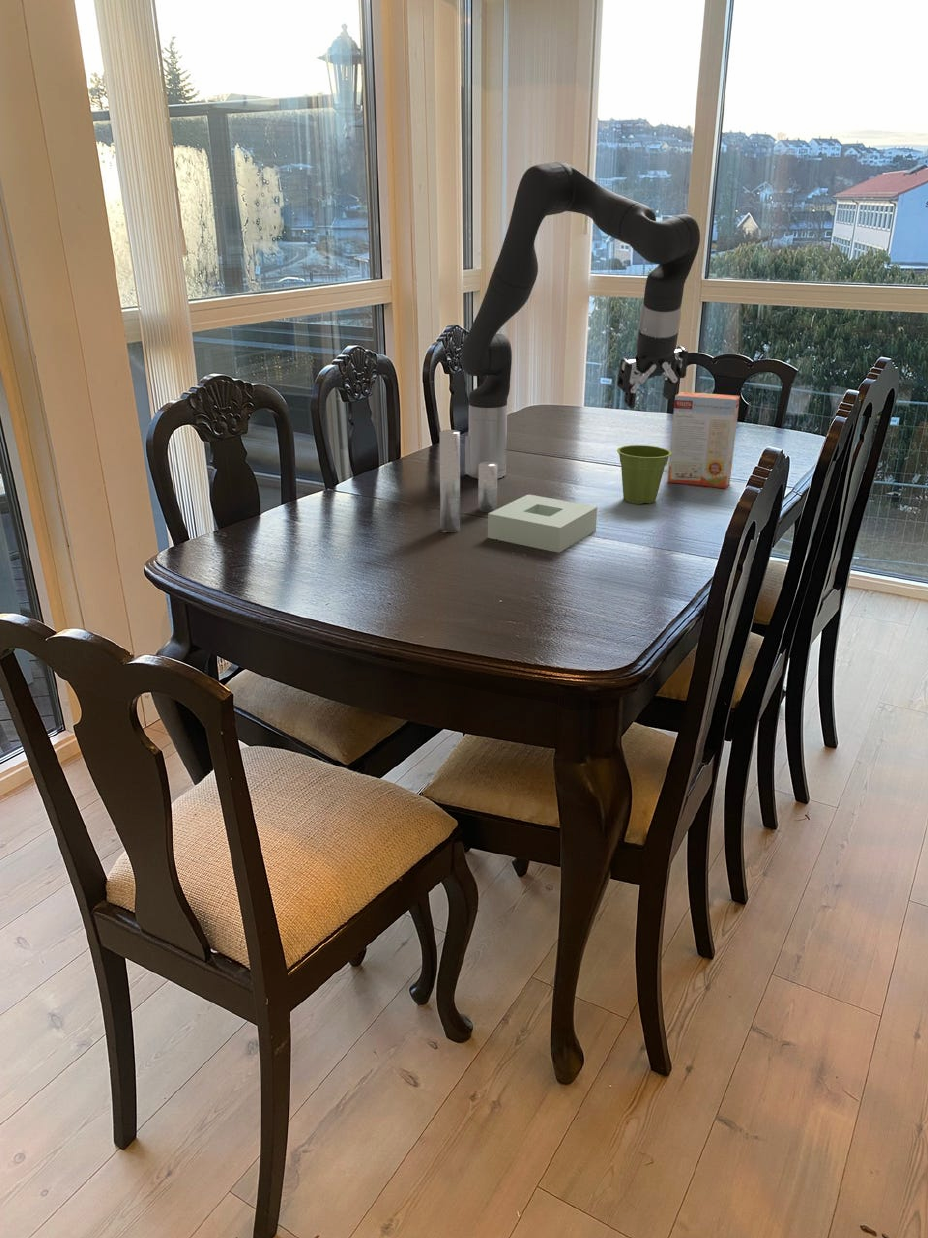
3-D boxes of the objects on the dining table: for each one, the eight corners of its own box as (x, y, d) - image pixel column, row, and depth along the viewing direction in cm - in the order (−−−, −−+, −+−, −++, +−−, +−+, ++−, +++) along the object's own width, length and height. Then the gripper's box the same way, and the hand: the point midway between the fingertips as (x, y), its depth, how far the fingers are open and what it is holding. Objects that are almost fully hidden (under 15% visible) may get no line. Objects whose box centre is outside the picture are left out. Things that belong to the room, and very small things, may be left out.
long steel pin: (436, 530, 184) (435, 432, 176) (447, 525, 187) (447, 428, 179) (453, 534, 182) (452, 435, 174) (463, 528, 185) (464, 431, 177)
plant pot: (666, 509, 197) (671, 458, 193) (612, 506, 200) (615, 455, 195) (666, 494, 208) (671, 445, 203) (614, 491, 210) (618, 443, 206)
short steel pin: (474, 510, 197) (475, 464, 193) (484, 505, 200) (485, 461, 196) (490, 513, 195) (491, 467, 191) (500, 508, 198) (500, 463, 194)
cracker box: (730, 483, 217) (741, 394, 208) (725, 489, 212) (736, 399, 203) (672, 476, 222) (680, 390, 213) (666, 482, 217) (674, 394, 208)
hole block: (487, 537, 180) (488, 513, 178) (527, 517, 192) (528, 494, 190) (559, 552, 172) (560, 527, 170) (595, 530, 184) (597, 506, 182)
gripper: (681, 311, 176) (669, 385, 187) (616, 325, 172) (608, 400, 184) (702, 327, 171) (688, 403, 182) (635, 342, 167) (626, 418, 179)
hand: (648, 401), depth 183 cm, fingers open, 8 cm apart
